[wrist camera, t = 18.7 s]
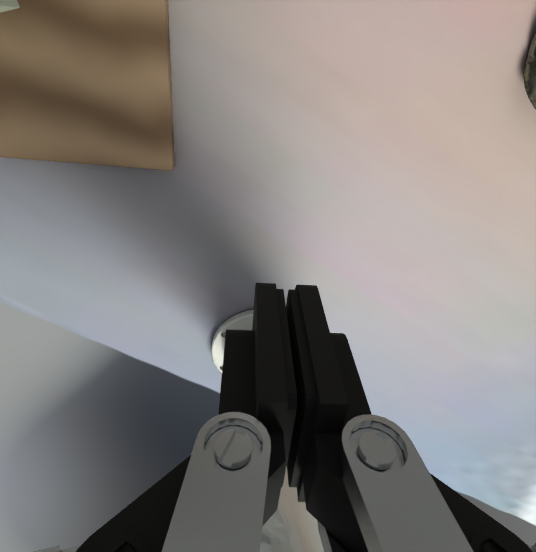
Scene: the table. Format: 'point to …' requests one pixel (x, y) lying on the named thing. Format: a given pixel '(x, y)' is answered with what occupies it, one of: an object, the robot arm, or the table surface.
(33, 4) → the board
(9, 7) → the hollow frame with stem
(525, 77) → the carved stone stamp
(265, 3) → the table surface
